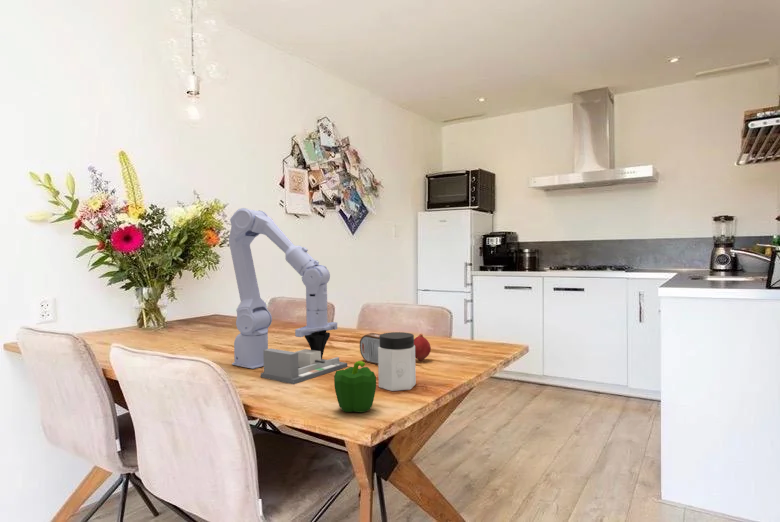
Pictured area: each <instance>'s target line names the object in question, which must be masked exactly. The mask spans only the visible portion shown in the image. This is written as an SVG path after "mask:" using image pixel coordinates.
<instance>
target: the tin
mask: <svg viewBox="0 0 780 522" xmlns="http://www.w3.org/2000/svg"><path fill="white" fill-rule="evenodd" d="M381 334H382V333H381ZM381 334H380V333H377V332H370V333H366V334H364V335H362V337H361V338H360V340H359V352H360V355H361V357H362V359H363V360H364V361H365V362H367V363H369V364H372V365H377V366H378V347H380V344H379V336H380V335H381Z"/></svg>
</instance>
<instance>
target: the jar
mask: <svg viewBox="0 0 780 522" xmlns="http://www.w3.org/2000/svg"><path fill="white" fill-rule="evenodd" d="M414 339H415V335H414V334H413V333H410V332H403V331H402V332H401V331H399V332H398V331H395V332H394V331H393V332H384V333H381V335H380V336H379V344H380V347H378V365H377V366H378V369H377V370H378V371H377V372H378V376H377V377H378V379H377V380H378V388H381V389H383V390H387V391H390V392H398V391H407V390H408V391H409V390H410V391H411V389H413V387H414V386H416V383H417V382H416V381H417V378H416V377H417V376H416V375H417V374H416V372H417V371H416V358H415V345H414Z"/></svg>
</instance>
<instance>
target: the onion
mask: <svg viewBox="0 0 780 522" xmlns="http://www.w3.org/2000/svg"><path fill="white" fill-rule="evenodd" d="M414 345H415V360H416V359H417V360H418V361H420V362H423V361H424V360H425V359H426V358H427V357H428V356H429V355H430V353H431V350H432V349H431V347H432V346H431V344H430V342H429V340H428V339H427V338H425V337H424V335H423V333H419V334H418V335H417V337H414Z"/></svg>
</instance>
